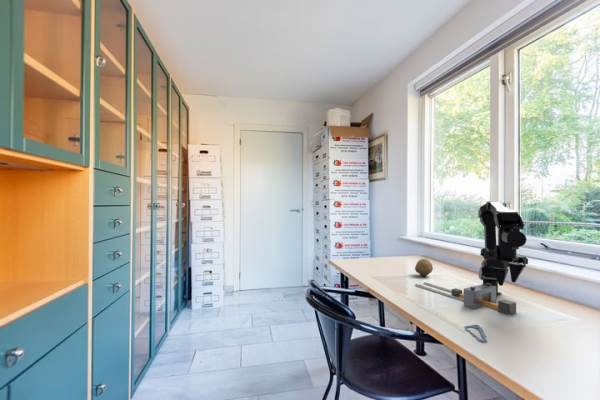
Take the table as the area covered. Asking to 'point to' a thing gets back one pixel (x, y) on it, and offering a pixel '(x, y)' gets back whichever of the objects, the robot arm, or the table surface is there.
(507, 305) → the grey-capped orange bar
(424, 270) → the natural sponge
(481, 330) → the grey curved loop
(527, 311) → the table surface
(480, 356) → the table surface
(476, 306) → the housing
